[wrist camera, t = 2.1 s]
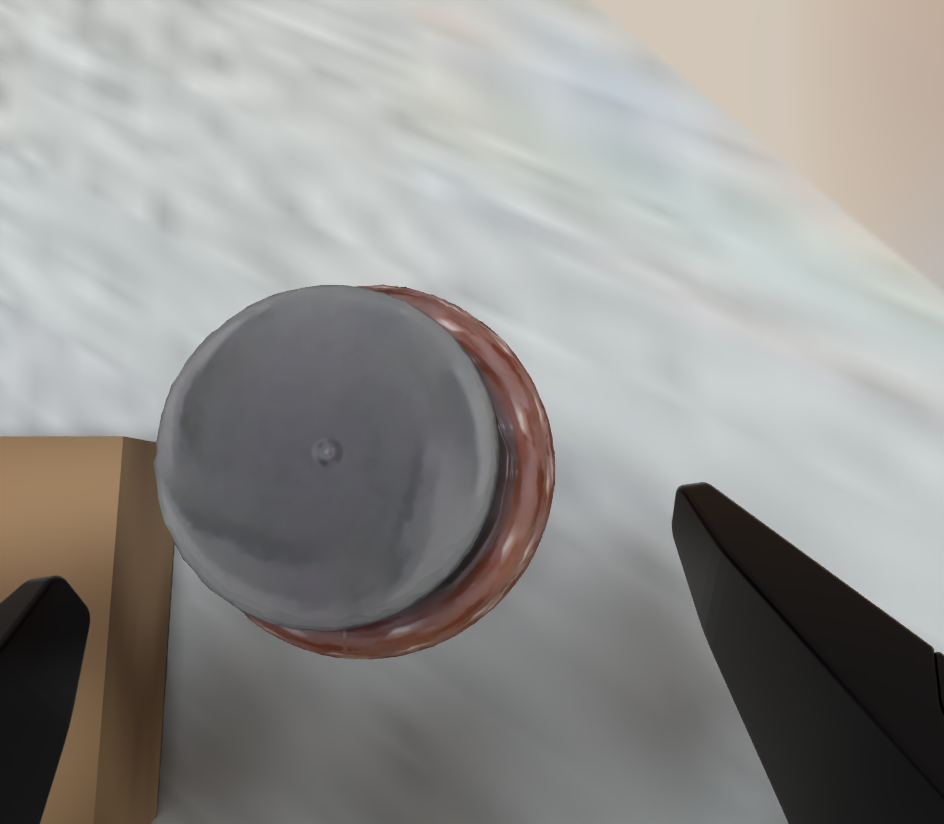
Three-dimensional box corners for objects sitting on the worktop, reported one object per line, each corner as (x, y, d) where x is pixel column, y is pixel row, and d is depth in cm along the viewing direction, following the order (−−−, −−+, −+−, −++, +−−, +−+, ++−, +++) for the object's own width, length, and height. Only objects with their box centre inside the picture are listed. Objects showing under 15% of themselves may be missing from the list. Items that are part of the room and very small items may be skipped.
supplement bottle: (512, 370, 19) (567, 177, 7) (533, 576, 18) (633, 705, 7) (310, 390, 19) (61, 223, 7) (323, 596, 18) (64, 762, 7)
